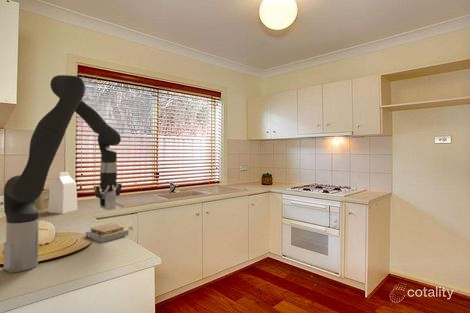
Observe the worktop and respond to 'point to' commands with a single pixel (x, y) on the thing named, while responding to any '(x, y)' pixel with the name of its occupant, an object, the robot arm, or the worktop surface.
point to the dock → (107, 237)
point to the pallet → (107, 229)
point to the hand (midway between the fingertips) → (107, 205)
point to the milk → (62, 194)
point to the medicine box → (109, 200)
